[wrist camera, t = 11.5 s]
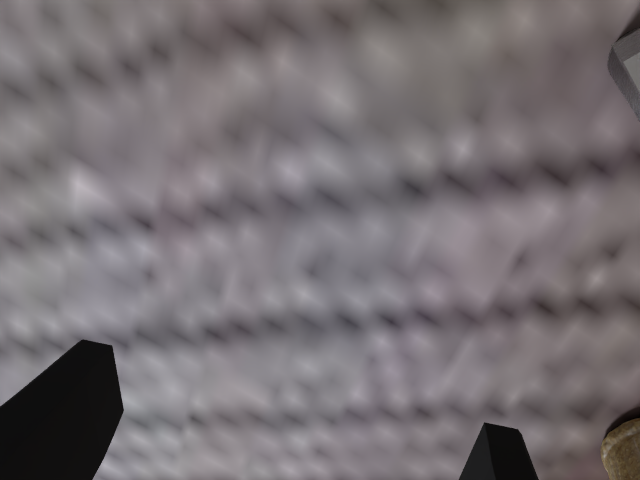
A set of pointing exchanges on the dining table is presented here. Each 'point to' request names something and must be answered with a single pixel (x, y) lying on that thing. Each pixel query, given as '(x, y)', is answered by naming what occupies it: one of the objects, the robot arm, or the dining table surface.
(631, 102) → the T-head stake
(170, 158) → the dining table surface
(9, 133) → the dining table surface
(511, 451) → the robot arm
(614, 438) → the sprinkles bottle
